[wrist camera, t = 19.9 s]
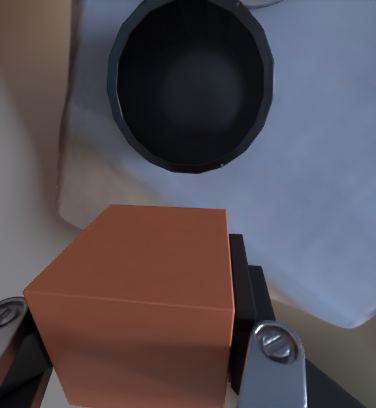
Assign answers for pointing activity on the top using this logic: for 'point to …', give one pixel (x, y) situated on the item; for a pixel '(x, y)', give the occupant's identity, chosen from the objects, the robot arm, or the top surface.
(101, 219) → the block
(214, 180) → the top surface
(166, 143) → the pot
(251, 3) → the lid
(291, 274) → the top surface
